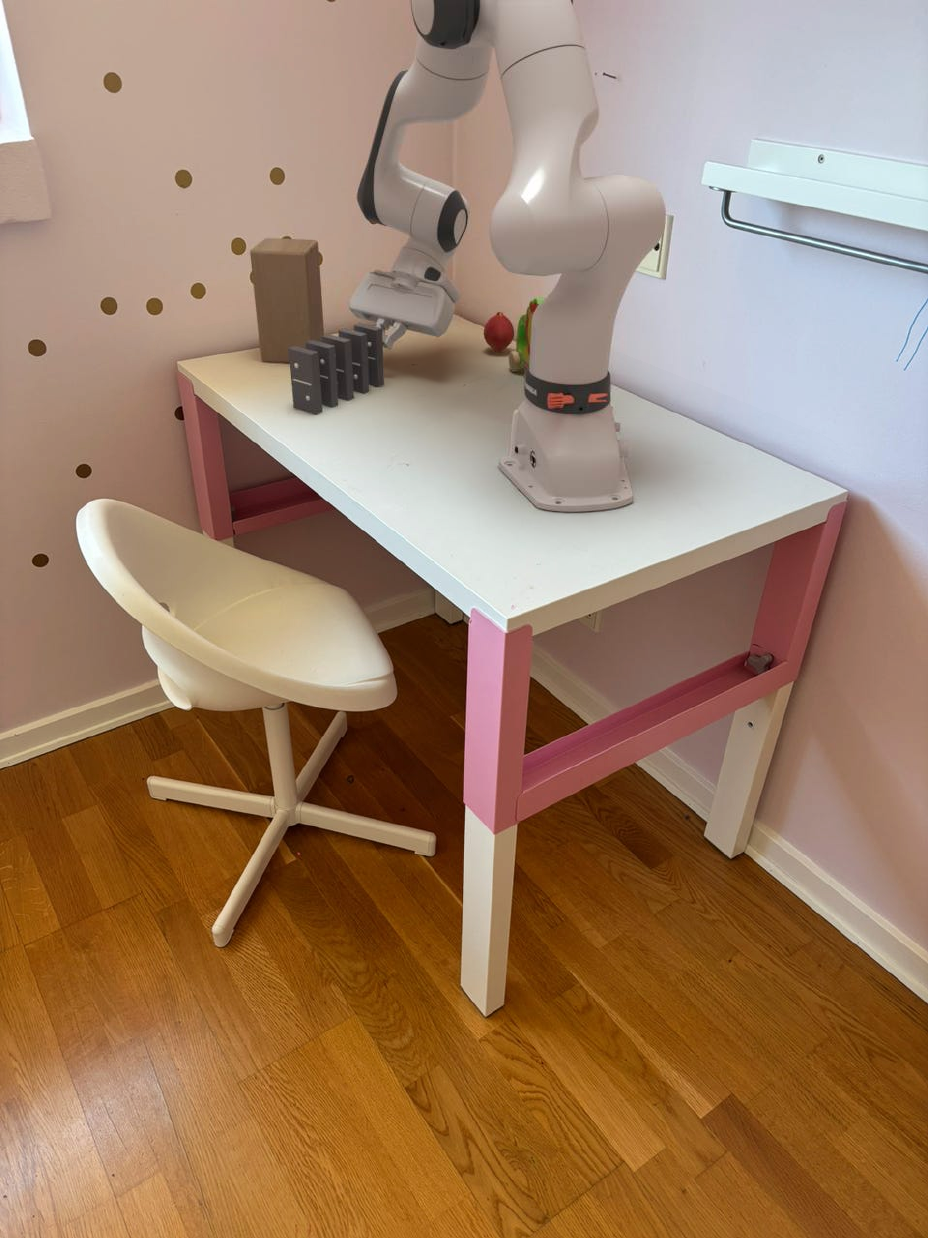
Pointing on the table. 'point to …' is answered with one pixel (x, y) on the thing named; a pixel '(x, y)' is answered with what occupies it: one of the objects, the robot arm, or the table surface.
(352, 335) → the domino
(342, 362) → the domino
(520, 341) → the toy lion
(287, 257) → the wooden block
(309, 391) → the domino
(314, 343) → the domino
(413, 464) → the table surface
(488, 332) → the onion
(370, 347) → the domino
